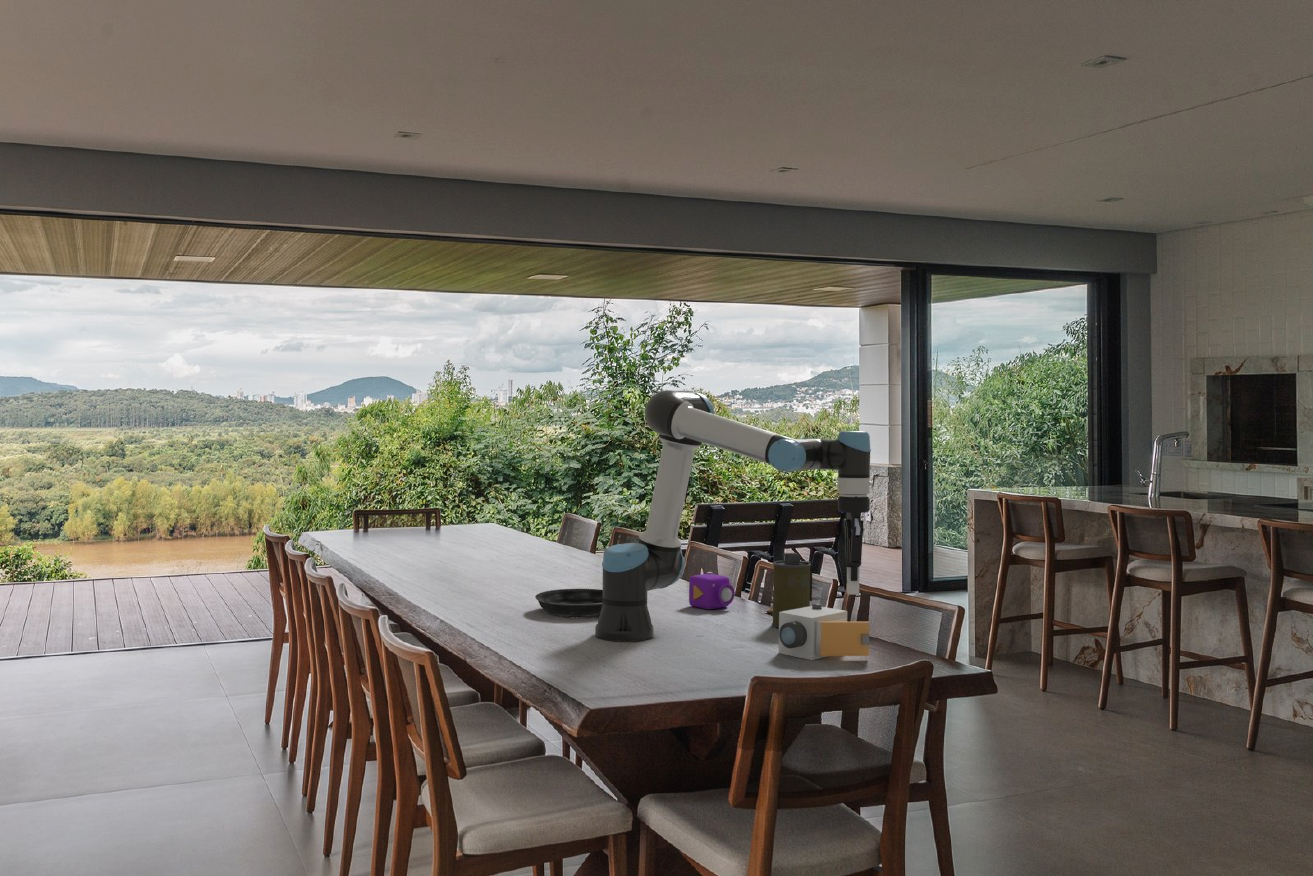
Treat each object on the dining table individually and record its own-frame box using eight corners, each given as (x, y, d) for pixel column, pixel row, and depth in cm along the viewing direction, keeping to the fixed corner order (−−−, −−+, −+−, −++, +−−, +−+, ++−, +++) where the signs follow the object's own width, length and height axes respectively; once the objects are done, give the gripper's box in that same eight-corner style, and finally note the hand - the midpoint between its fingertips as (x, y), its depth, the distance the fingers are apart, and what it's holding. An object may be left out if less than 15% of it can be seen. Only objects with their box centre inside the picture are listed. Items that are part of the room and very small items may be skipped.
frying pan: (575, 624, 291) (576, 600, 291) (517, 612, 309) (517, 588, 308) (682, 605, 323) (683, 583, 323) (624, 595, 340) (624, 574, 340)
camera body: (803, 662, 249) (804, 615, 249) (769, 655, 257) (770, 609, 256) (847, 651, 262) (848, 607, 261) (813, 645, 269) (814, 601, 269)
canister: (780, 630, 286) (781, 556, 286) (766, 623, 296) (767, 551, 296) (817, 628, 289) (819, 555, 289) (802, 621, 299) (803, 550, 299)
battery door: (817, 657, 251) (817, 623, 251) (815, 655, 253) (815, 621, 253) (869, 656, 252) (870, 623, 252) (867, 655, 254) (868, 621, 254)
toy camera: (722, 613, 311) (722, 579, 311) (684, 607, 319) (684, 574, 319) (742, 608, 319) (742, 574, 319) (704, 602, 328) (705, 570, 328)
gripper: (874, 497, 248) (873, 598, 249) (864, 493, 261) (863, 589, 262) (842, 497, 248) (841, 598, 249) (833, 493, 261) (833, 589, 262)
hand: (852, 593), depth 255 cm, fingers closed
